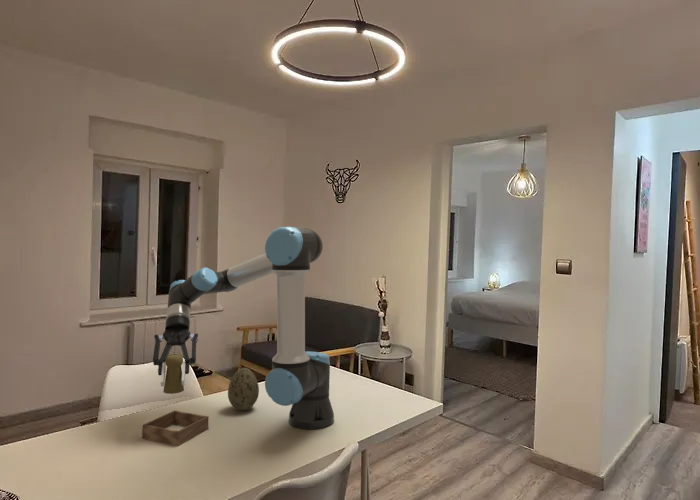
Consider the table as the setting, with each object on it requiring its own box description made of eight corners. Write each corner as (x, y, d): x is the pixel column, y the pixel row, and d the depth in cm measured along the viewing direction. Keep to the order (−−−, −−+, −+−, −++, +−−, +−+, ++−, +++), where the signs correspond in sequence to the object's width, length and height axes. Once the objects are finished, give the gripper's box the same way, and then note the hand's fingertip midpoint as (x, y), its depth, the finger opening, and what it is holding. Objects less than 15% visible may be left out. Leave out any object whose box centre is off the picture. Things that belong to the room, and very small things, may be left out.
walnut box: (208, 428, 146) (208, 416, 146) (178, 445, 133) (178, 432, 133) (174, 422, 150) (174, 410, 150) (142, 438, 138) (142, 425, 138)
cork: (188, 389, 143) (188, 354, 143) (173, 394, 138) (174, 358, 138) (174, 386, 146) (174, 352, 146) (158, 391, 140) (159, 356, 140)
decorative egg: (247, 416, 157) (248, 373, 157) (221, 412, 160) (222, 369, 160) (264, 406, 167) (264, 365, 167) (238, 402, 170) (239, 362, 170)
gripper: (206, 326, 159) (204, 387, 143) (149, 327, 154) (141, 391, 138) (206, 313, 154) (204, 375, 138) (147, 314, 149) (138, 379, 133)
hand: (172, 383), depth 138 cm, fingers closed on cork, 5 cm apart
